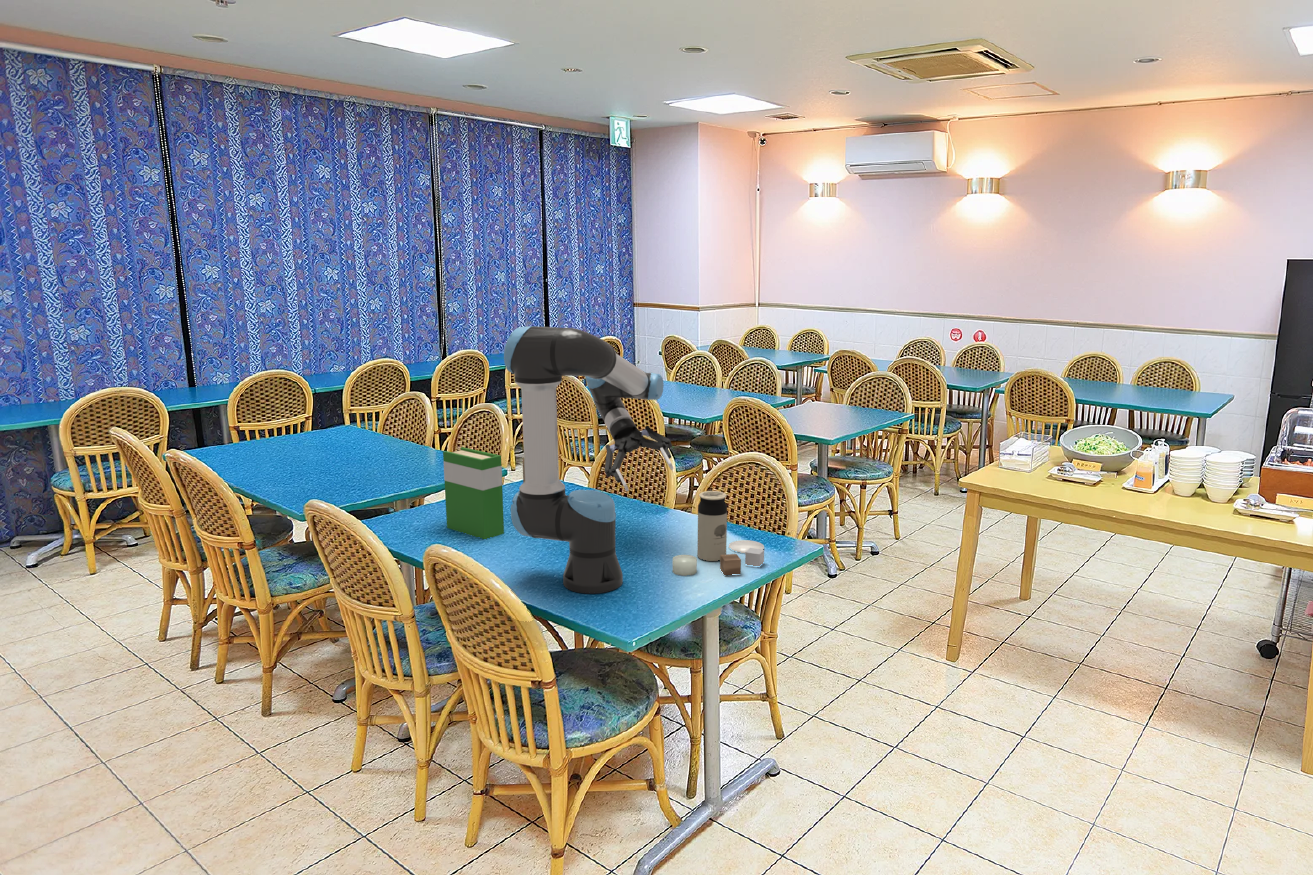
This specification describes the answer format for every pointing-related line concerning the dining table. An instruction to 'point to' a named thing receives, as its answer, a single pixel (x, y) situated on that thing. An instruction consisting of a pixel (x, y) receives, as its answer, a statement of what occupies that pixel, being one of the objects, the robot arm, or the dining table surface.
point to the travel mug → (712, 525)
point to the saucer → (745, 545)
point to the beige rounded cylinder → (684, 565)
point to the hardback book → (474, 492)
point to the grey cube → (754, 557)
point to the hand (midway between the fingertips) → (649, 477)
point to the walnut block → (730, 564)
